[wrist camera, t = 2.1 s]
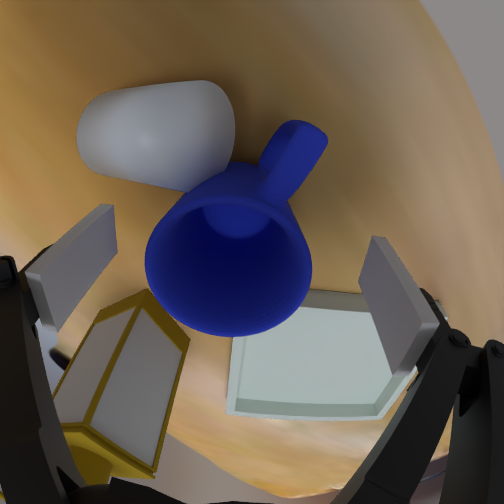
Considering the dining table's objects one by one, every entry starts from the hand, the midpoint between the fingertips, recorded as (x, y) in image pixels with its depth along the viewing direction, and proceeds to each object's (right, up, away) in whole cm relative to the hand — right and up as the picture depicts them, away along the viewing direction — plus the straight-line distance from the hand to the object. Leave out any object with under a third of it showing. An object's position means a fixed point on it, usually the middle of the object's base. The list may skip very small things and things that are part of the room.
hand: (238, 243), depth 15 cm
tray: (+9, -12, +17) cm, 22 cm away
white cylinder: (-2, +5, 0) cm, 6 cm away
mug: (+1, +5, +8) cm, 9 cm away
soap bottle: (-12, -6, +15) cm, 20 cm away
